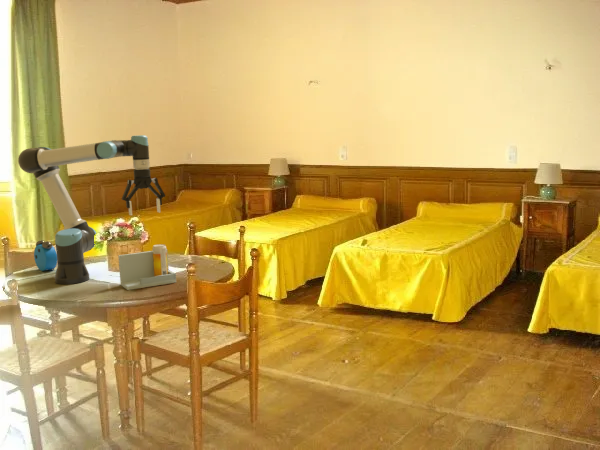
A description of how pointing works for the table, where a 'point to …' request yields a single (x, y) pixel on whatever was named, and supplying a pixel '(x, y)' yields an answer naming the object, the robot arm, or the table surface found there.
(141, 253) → the stand
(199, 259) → the table surface
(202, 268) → the table surface
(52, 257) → the alarm clock
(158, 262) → the beer can
